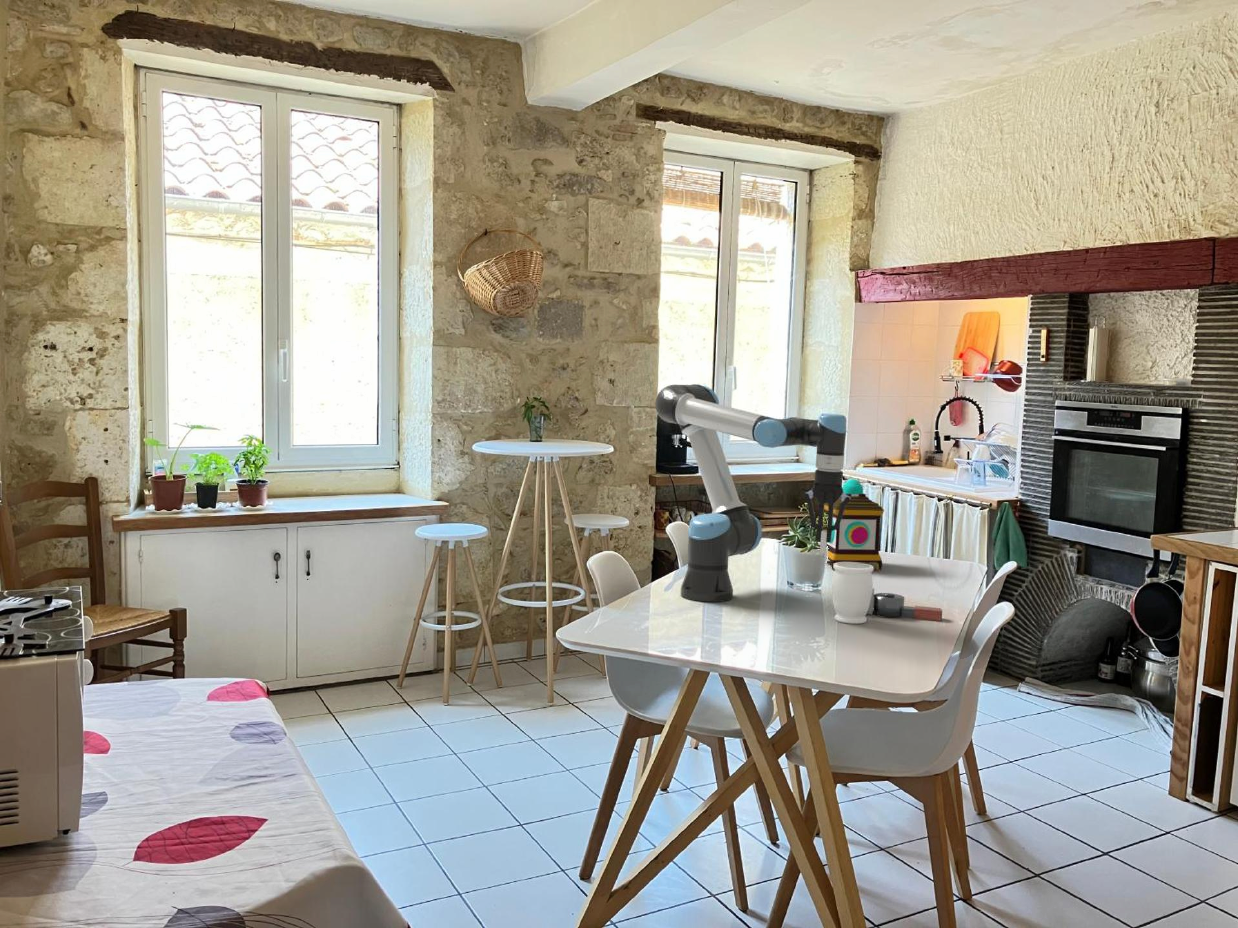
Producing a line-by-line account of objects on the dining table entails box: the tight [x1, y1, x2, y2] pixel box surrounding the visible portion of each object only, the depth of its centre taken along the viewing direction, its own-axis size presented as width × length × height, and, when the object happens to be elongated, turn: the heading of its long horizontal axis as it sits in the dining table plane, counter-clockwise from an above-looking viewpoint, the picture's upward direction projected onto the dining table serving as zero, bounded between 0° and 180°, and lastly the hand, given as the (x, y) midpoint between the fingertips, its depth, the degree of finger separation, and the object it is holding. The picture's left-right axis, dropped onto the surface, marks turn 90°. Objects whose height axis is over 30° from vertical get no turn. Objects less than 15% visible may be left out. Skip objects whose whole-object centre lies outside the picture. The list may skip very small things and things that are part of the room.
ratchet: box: [872, 592, 943, 622], centre depth 270 cm, size 22×8×6 cm, turn 73°
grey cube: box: [865, 588, 875, 615], centre depth 273 cm, size 6×6×6 cm
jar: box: [831, 562, 874, 625], centre depth 263 cm, size 11×10×15 cm
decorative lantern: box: [824, 478, 885, 571], centre depth 337 cm, size 20×20×30 cm
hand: (822, 553), depth 275 cm, fingers closed
